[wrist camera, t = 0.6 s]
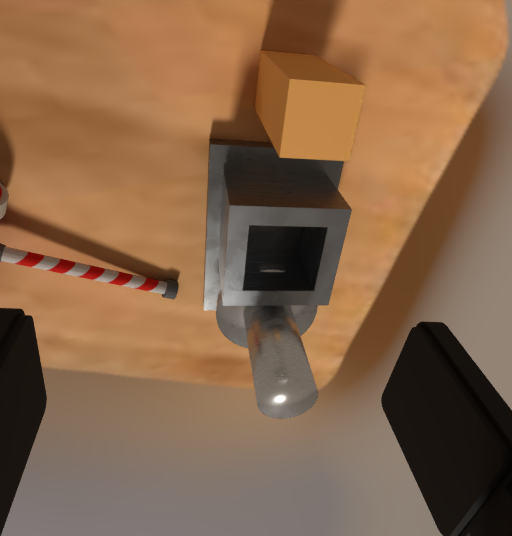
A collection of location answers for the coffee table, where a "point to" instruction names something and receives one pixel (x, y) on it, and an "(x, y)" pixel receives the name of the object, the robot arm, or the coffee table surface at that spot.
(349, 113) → the orange rectangular block
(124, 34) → the coffee table surface
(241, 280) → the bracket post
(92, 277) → the toy hammer
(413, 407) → the robot arm
